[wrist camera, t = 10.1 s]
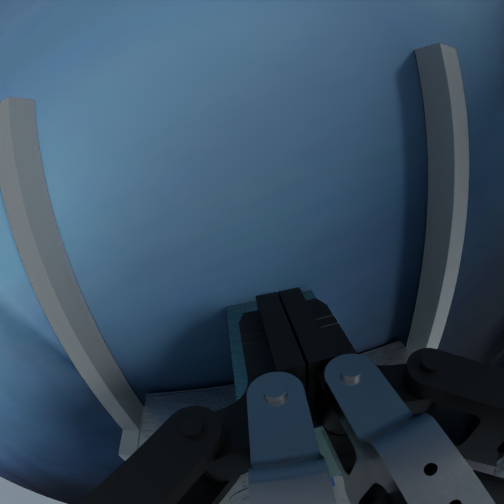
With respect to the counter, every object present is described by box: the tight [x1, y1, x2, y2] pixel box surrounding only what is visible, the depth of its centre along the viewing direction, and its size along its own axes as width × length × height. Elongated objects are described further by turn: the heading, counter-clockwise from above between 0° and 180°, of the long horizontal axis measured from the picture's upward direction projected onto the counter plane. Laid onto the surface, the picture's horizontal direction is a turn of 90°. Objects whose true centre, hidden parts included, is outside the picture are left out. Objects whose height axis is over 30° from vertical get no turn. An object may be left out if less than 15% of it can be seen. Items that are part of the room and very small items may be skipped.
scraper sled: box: [138, 290, 411, 477], centre depth 11 cm, size 7×16×7 cm, turn 98°
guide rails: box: [0, 43, 469, 430], centre depth 11 cm, size 18×20×2 cm
